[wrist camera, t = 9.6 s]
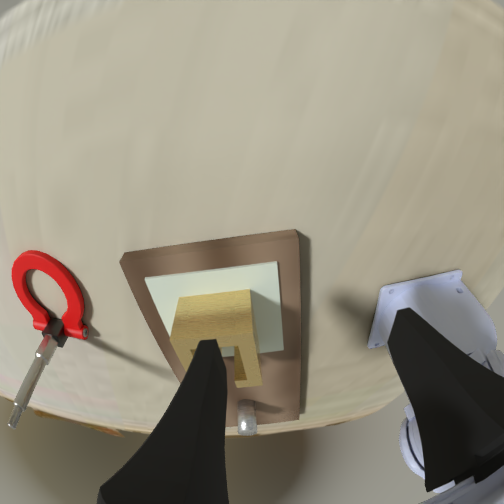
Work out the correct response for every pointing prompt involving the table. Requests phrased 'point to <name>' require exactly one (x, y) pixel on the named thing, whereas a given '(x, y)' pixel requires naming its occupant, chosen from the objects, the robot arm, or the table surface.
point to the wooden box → (220, 331)
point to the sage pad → (225, 280)
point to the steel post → (246, 417)
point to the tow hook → (45, 319)
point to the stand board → (272, 363)
